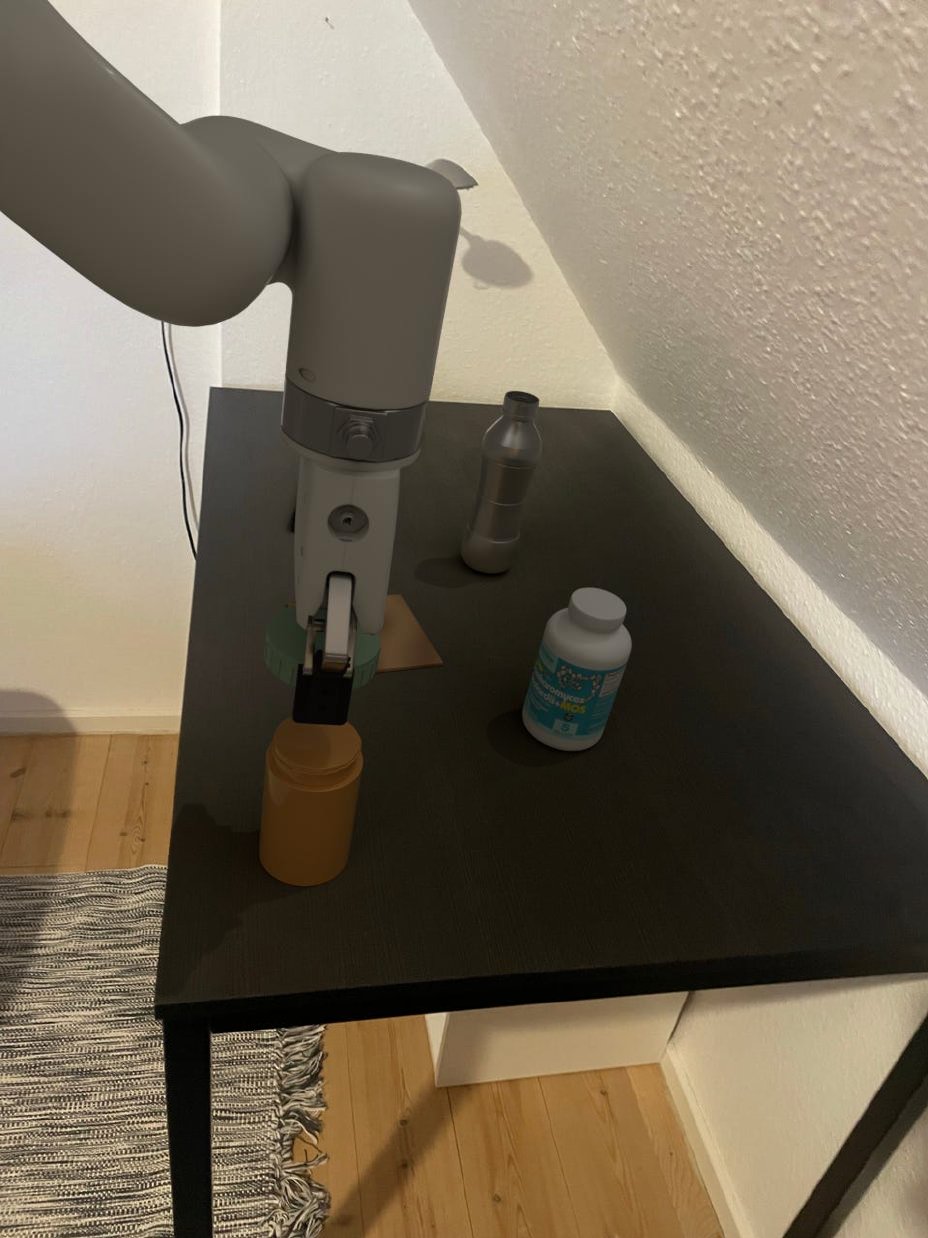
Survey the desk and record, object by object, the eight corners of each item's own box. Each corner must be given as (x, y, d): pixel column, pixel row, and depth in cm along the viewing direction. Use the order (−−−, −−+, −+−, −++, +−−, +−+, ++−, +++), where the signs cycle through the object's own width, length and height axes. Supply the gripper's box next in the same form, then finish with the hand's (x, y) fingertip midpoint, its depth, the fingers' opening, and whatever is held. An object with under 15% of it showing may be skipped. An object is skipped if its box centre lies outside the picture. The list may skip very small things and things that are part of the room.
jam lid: (382, 639, 62) (387, 614, 61) (370, 704, 56) (375, 678, 55) (275, 618, 61) (278, 593, 60) (251, 681, 55) (254, 655, 54)
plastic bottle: (445, 561, 106) (477, 391, 95) (482, 545, 111) (517, 381, 100) (489, 587, 103) (527, 414, 92) (525, 569, 108) (566, 403, 97)
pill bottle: (503, 721, 84) (536, 593, 77) (553, 691, 89) (588, 569, 82) (569, 767, 80) (610, 638, 73) (617, 733, 85) (659, 609, 78)
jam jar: (260, 889, 64) (270, 774, 58) (256, 820, 69) (264, 708, 64) (354, 883, 66) (372, 771, 60) (343, 817, 71) (359, 707, 65)
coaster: (319, 679, 84) (320, 675, 84) (286, 605, 93) (286, 602, 93) (442, 665, 89) (443, 662, 89) (400, 597, 98) (400, 593, 98)
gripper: (443, 498, 44) (387, 781, 53) (409, 368, 58) (369, 610, 67) (278, 480, 42) (250, 775, 51) (284, 351, 56) (262, 601, 66)
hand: (318, 680), depth 59 cm, fingers closed on jam lid, 6 cm apart
